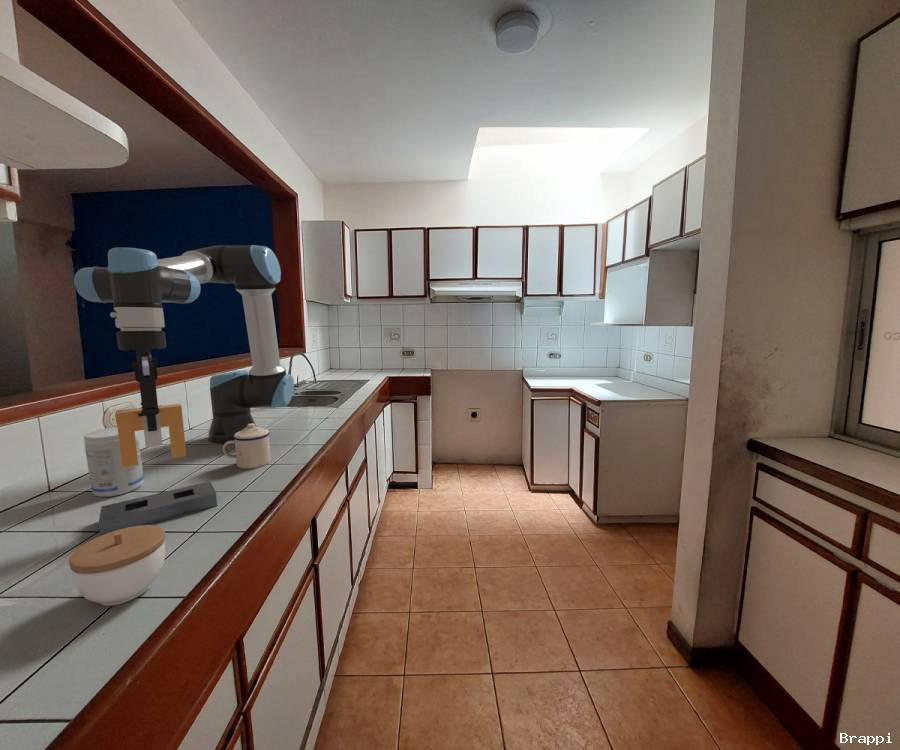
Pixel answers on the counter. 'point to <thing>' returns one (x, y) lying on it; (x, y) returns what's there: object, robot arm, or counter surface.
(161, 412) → the orange clip
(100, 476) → the supplement tub
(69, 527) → the counter surface
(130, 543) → the lidded jar
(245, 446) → the teacup with lid
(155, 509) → the graphite rail
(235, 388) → the robot arm
